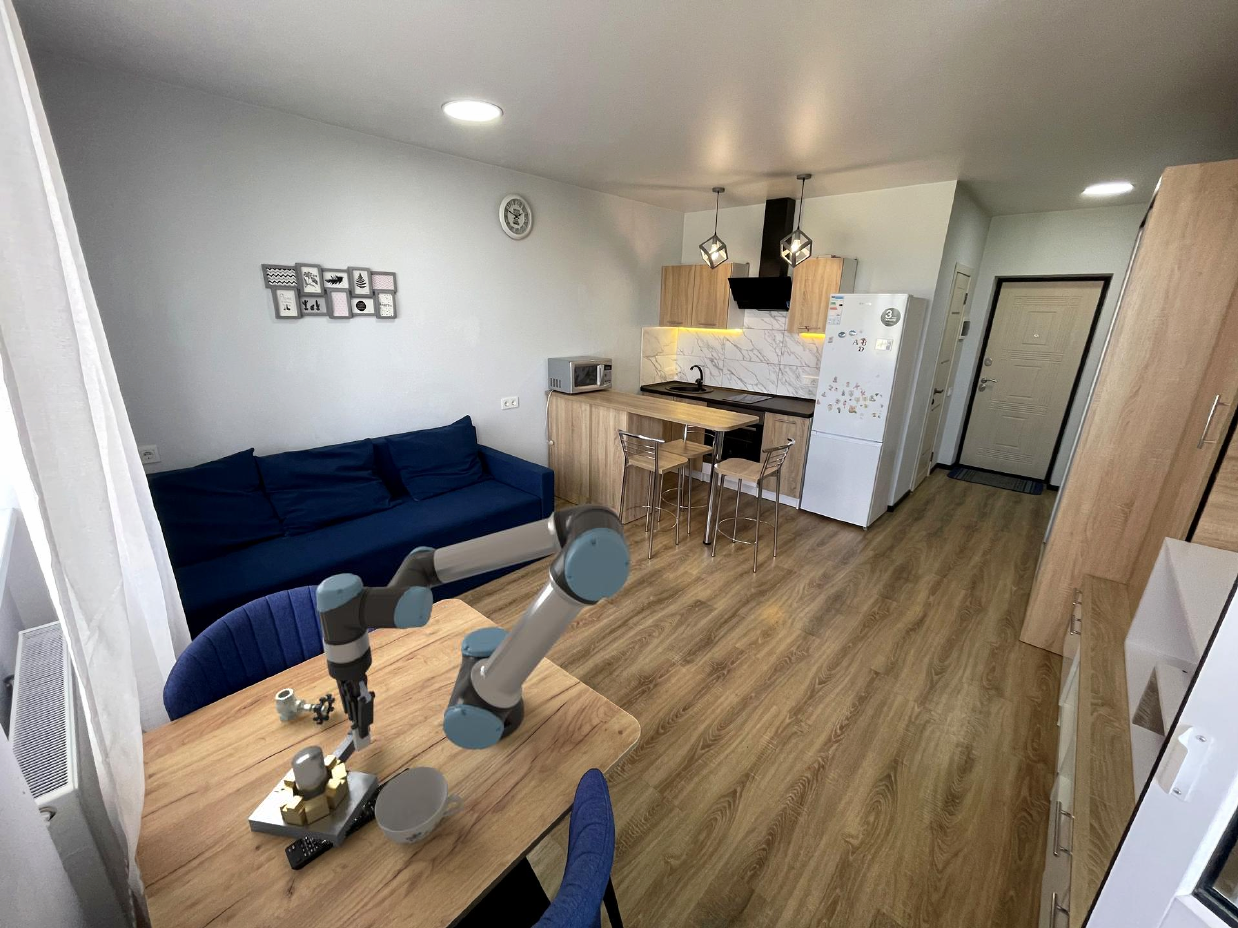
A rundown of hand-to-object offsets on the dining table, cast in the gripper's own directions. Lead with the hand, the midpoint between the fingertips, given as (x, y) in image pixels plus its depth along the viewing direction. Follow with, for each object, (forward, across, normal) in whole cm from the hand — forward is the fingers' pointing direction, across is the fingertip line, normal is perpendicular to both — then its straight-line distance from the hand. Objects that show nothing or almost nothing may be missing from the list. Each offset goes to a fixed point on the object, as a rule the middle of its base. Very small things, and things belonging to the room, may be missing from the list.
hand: (363, 745), depth 101 cm
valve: (+8, +25, +3) cm, 27 cm away
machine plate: (+7, 0, +10) cm, 12 cm away
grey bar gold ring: (+4, +2, +5) cm, 7 cm away
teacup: (+7, -19, -1) cm, 21 cm away
